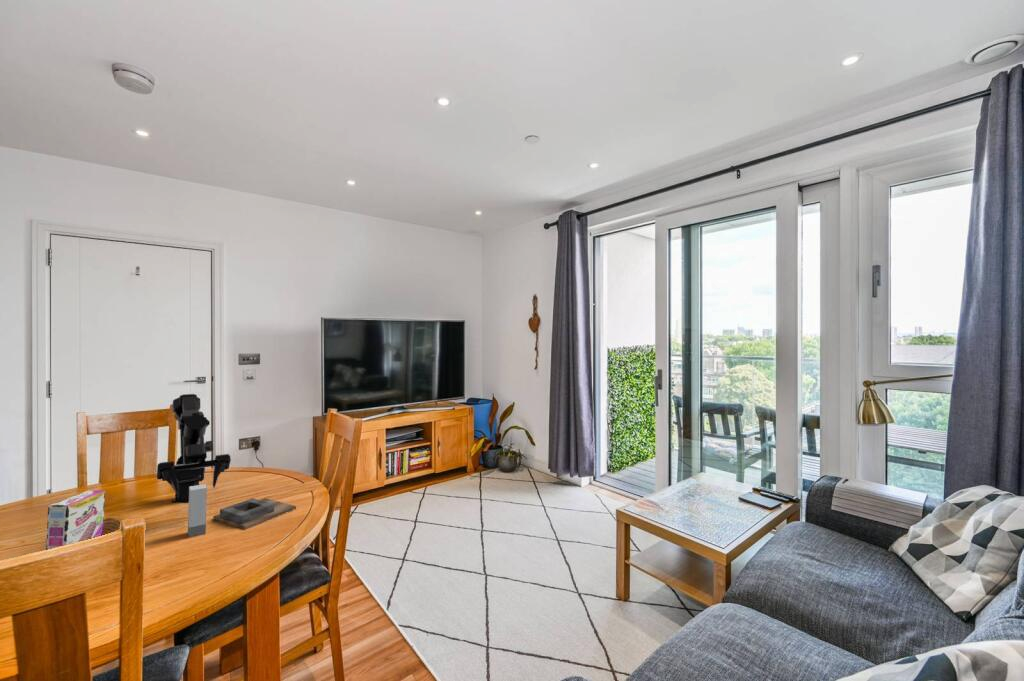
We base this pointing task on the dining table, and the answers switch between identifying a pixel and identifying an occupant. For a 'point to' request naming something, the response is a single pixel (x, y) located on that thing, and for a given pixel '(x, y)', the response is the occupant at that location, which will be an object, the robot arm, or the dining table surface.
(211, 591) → the dining table surface
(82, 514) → the candy bar box
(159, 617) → the dining table surface
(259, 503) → the grey square socket base
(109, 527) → the pastry
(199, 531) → the white block
